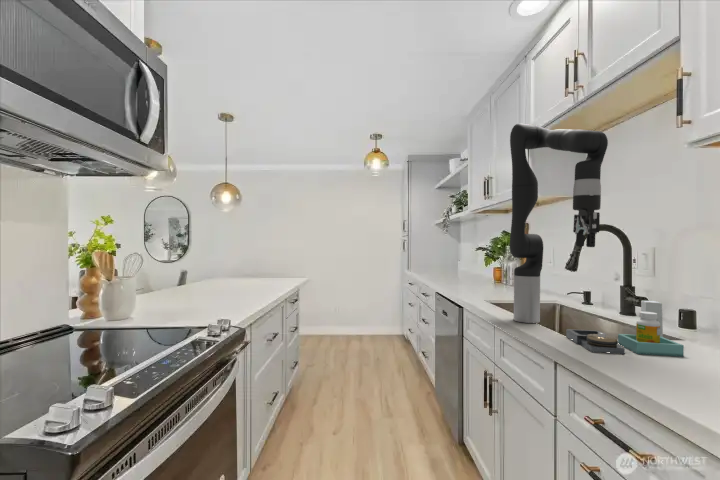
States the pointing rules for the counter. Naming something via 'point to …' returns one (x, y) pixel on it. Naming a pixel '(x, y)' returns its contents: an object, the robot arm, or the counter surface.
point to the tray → (651, 346)
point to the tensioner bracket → (595, 341)
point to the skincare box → (655, 308)
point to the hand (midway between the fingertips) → (585, 246)
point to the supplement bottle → (648, 328)
